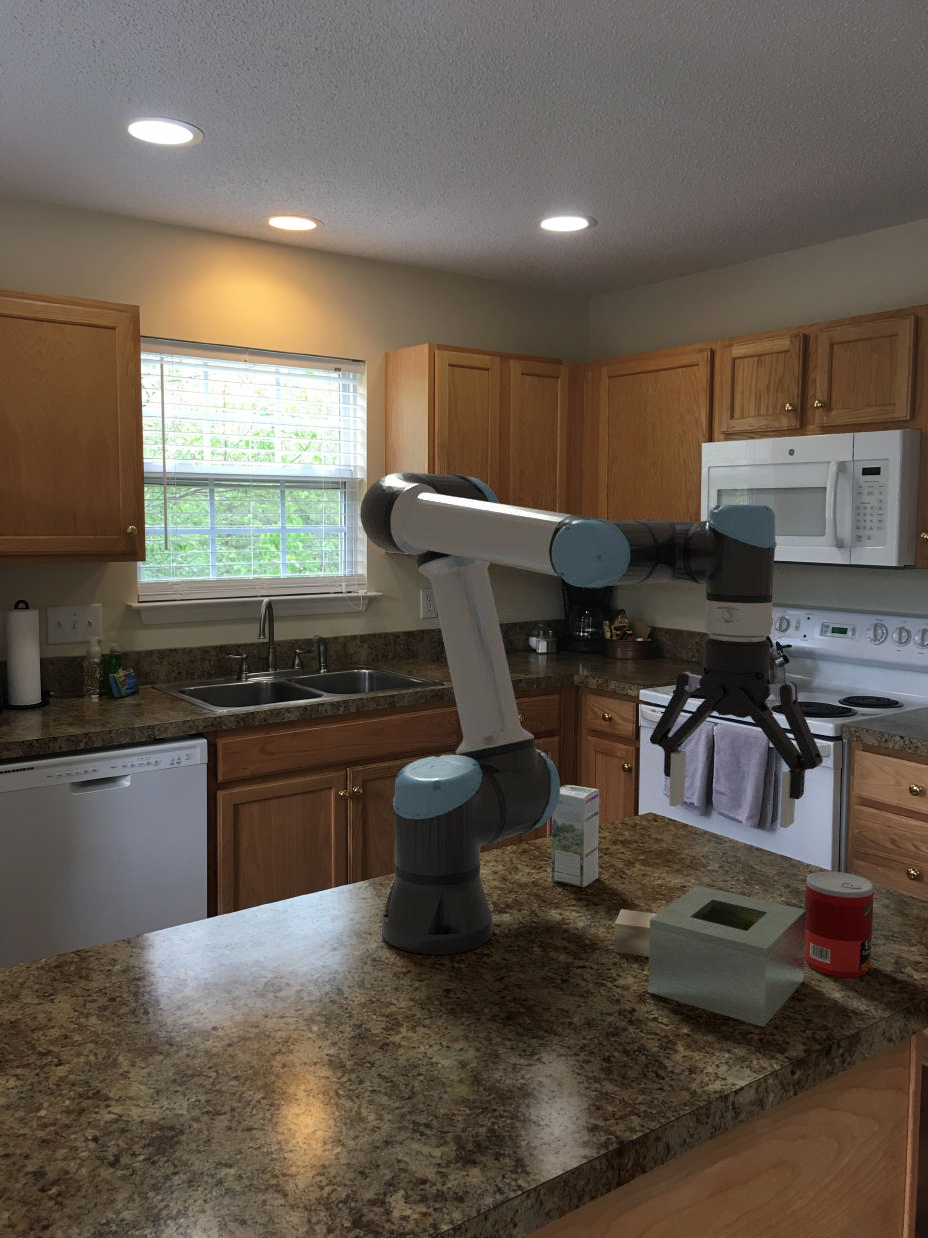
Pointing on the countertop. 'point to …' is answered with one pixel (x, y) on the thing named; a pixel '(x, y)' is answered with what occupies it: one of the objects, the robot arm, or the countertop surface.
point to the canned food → (838, 924)
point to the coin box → (727, 953)
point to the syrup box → (575, 836)
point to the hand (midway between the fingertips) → (730, 814)
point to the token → (632, 932)
